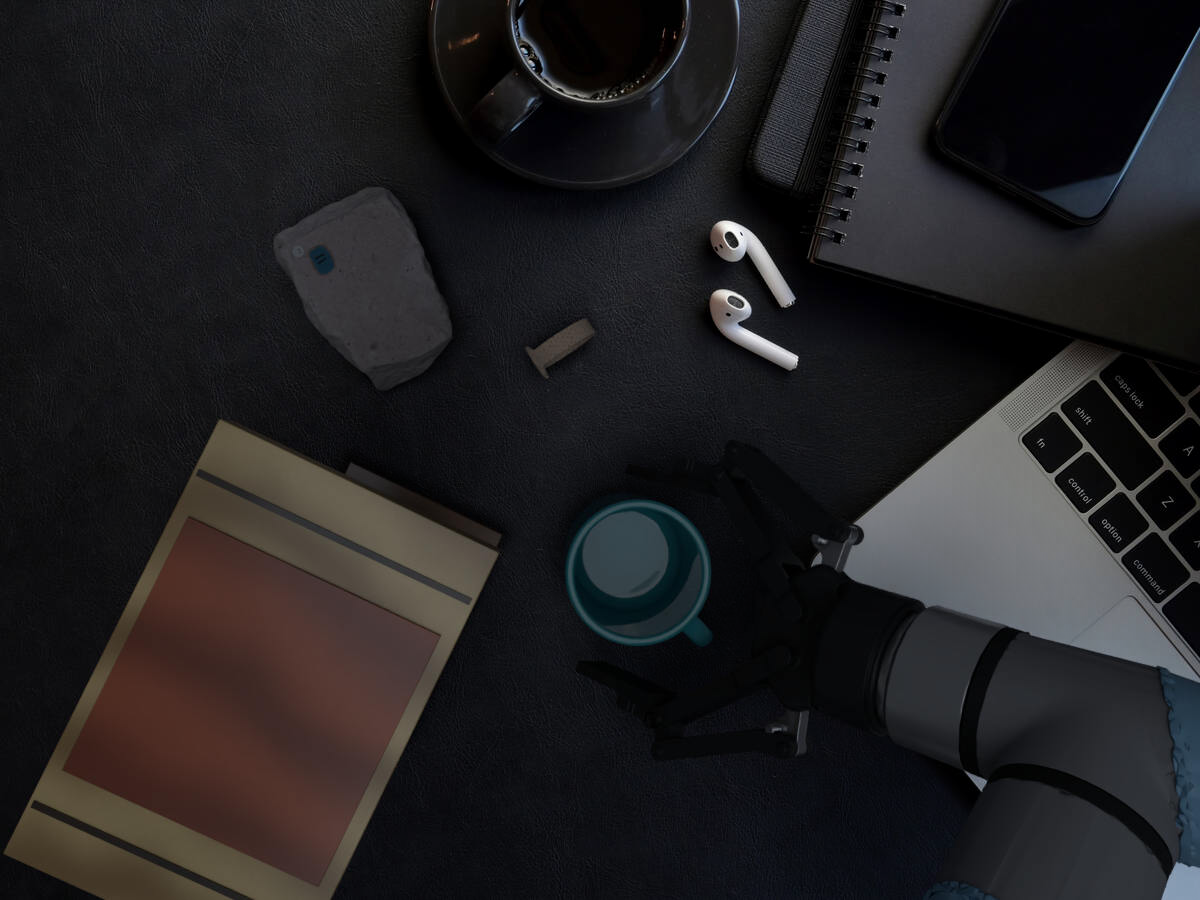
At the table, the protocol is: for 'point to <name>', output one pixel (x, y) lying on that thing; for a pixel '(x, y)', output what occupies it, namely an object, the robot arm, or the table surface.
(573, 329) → the flanged peg
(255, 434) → the board
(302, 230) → the decorative stone
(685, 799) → the table surface
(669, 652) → the table surface
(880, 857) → the table surface
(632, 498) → the cup
